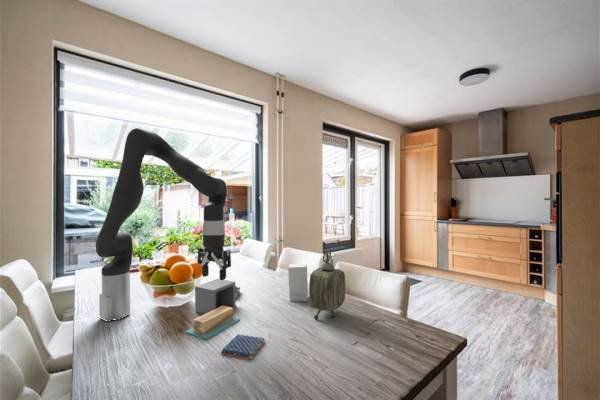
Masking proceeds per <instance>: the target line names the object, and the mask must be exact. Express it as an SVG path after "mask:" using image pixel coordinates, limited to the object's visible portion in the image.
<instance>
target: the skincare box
mask: <svg viewBox="0 0 600 400" xmlns="http://www.w3.org/2000/svg"><path fill="white" fill-rule="evenodd" d="M287 269H288V270H287V271H288V272H287V273H288V291H289V292H288V294H289V302H308V300H309V284H308V283H309V281H308V264H307V263H289V265H288V268H287Z"/></svg>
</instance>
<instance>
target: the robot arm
mask: <svg viewBox="0 0 600 400" xmlns="http://www.w3.org/2000/svg"><path fill="white" fill-rule="evenodd" d="M145 156H152V157H155V158H157V159H159V160H162V161H163V162H165V163H166V164H167V165H168V166H169V167H170V168H171V170H172V171H173V172H174V173H175V174H176V175H177V176H178V177H180V178H181V179H182V180H183V181H186V182H187V183H189V184H191V186H192V187H194V188H195V189H196V190H197V191H198V192H199V193H200V194H202V195H203V196H205V197H208V199H207V204H205V205H204V207H203V221H202V222H203V223H202V247H199V248H197V264H198V265H200V266H201V275H202V277H204V278H205V277H208V276H209V272H210V271H209V270H210V269H209V266H210V265H209V264H210V262H213V263H215V264H216V265H217V266H218V267H219V279H220V280H226V278H227V269H228V268H231V267H232V258H231V257H232V255H231V253H232V252H231V250H230V249H228V250H224V246H225V245H226V243H225V242H226V241H225V237H226V231H225V230H226V229H225V228H226V227H225V205H226V200H227V194H228V193H227V192H228V187H227V184H226V182H225V181H224V180H223V179H222V178H219V177H218V178H217V177H213V176H211V175H210V174H209V173H207V172H206V171H205V169H204V168H202V167H201V166H200V165H199V164H197V163H195V162H194V161H192V160H191V159H189V158H187V157H186V156H184V154H181V153H180V152H179V151H177V150H176V149H175V148H174V147H173V146H171V145H170V144H169V143H168V142H167V141H166V139H164V138H163V137H162V136H160V134H159V133H157V132H155V131H153V130H147V129H144V128H140V127H139V128H137V127H136V128H133V129H131V130H130V131H129V132H128V133H127V136H126V139H125V143H124V150H123V155H122V161H121V166H120V169H119V173H118V178H117V180H116V183H115V186H114V189H113V193H112V196H111V200H110V204H109V207H108V210H107V213H106V216H105V219H104V222H103V224H102V227H101V228H100V231H99V233H98V236H97V238H96V242H95V252H96V254H97V256H98V257H101V258H111V257H112V260H111V261H109V262H108V263H107V264H105V265H103V266H102V267H101V294H99V297H98V298H99V299H98V301H99V304H98V305H99V307H98V308H99V311H98V312H99V318H100V317H101V318H103V319H105V320H107V321H109V320H113V319H119V318H122V317H125V316H127V315H129V314H131V273H130V272H131V265H132V263H133V261H132V260H133V237H132V236H131V234H130V233H129V232H128V231H126V230H125V231H120V229H121V227H122V226H123V224H124V223H125V222H126V221H127V220H128V218H130V216H132V214H134V212H135V211H136V210H137V209H138V208H139V206H140V203H141V200H142V198H143V194H144V188H145V187H144V182H143V181H144V180H143V178H142V174H141V171H142V170H141V168H142V164H143V160H144V157H145ZM129 316H130V315H129ZM127 317H128V316H127ZM125 318H126V317H125ZM122 319H123V318H122ZM119 320H120V319H119Z"/></svg>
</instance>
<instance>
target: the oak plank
mask: <svg viewBox="0 0 600 400" xmlns="http://www.w3.org/2000/svg"><path fill="white" fill-rule="evenodd" d="M233 317H234V307H233V306H231V307H230V306H228V305H220V306H219V307H216V309H215V310H213V311H210V312H208V313H206V314H203V315H201V316H198V317H196V318H194V319H193V320H192V328H193V332H196V333H200V334H203V335H204V334H206V333H208V332H210V331H211V330H213V329H215V328H217V327H219V326H220V325H222V324H224V323H226V322H227V321H229V320H231V319H233Z"/></svg>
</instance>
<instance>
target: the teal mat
mask: <svg viewBox="0 0 600 400" xmlns="http://www.w3.org/2000/svg"><path fill="white" fill-rule="evenodd" d="M240 321H241V318H239V317H236V316H235V317H234V316H233V319H231V320H229V321H227V322H226V323H224V324H222V325H220V326H219V327H217V328H215V329H213V330H211V331H210V332H208V333H206V334H204V335H203V334H200V333H196V332H193V327H190V328H189V329H187V330H185V334H188V335H192V336H195V337H196V338H197V337H198V338H200V339H202V340H203V339H204V340H209V339H210V338H212V337H214V336H216V335H217V334H219V333H221V332H222V331H225V330H226V329H228V328H229V327H230V328H231V326H233V325H235V324H236V323H238V322H240Z"/></svg>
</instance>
